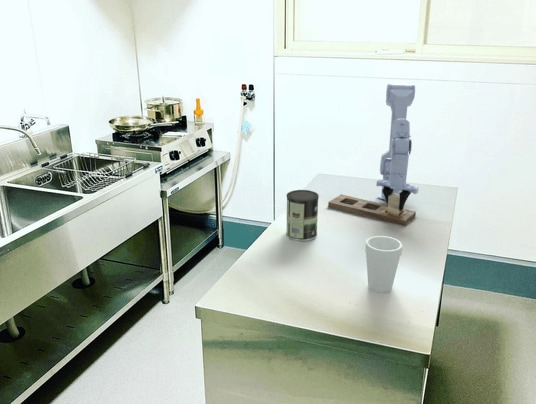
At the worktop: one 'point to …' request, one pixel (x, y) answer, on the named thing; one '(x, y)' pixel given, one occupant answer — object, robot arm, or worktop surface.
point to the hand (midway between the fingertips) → (394, 208)
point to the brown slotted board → (379, 213)
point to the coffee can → (302, 215)
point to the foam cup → (382, 262)
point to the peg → (394, 204)
